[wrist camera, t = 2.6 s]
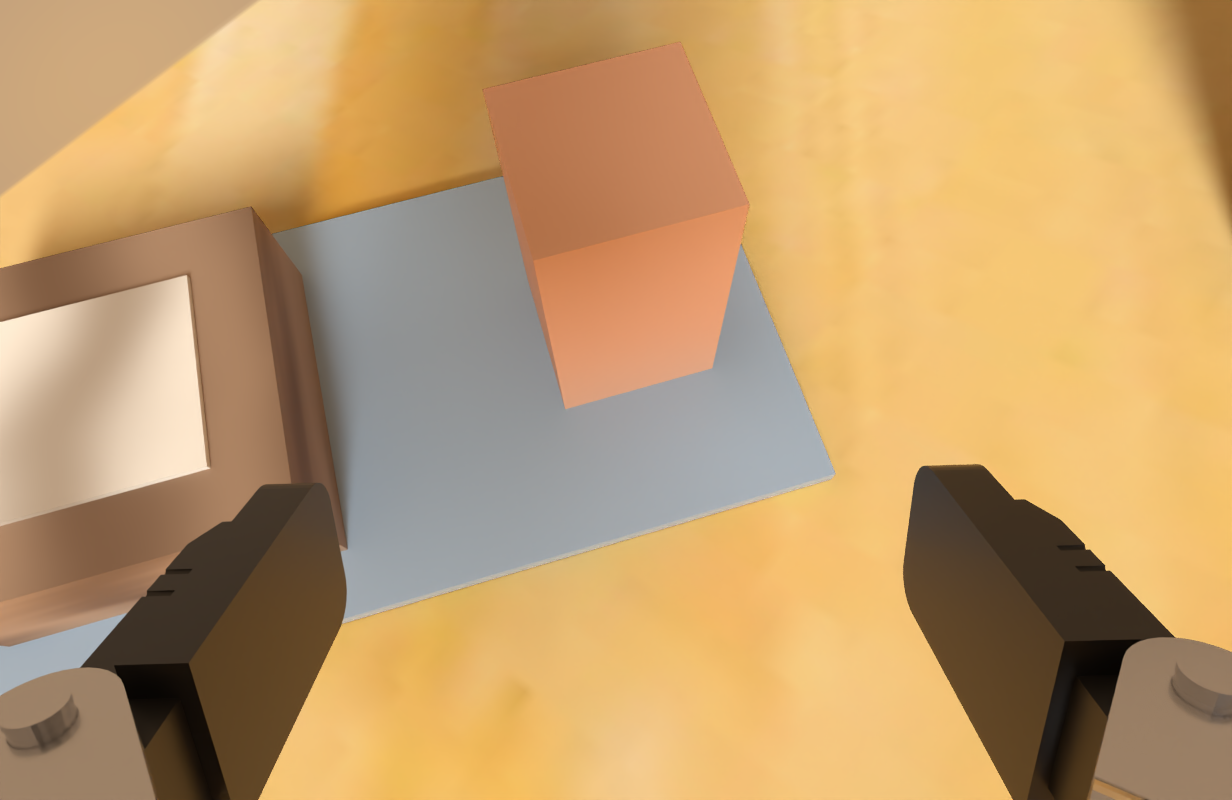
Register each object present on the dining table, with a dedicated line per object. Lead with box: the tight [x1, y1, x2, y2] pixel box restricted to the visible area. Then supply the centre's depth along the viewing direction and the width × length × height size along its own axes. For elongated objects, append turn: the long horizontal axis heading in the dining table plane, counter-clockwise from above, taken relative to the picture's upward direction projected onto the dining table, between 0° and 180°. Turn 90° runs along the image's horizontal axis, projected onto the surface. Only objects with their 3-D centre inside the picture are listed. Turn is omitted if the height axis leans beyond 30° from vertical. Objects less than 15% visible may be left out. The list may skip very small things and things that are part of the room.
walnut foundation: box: [0, 207, 348, 647], centre depth 24 cm, size 10×10×4 cm
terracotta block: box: [483, 42, 750, 409], centre depth 23 cm, size 5×5×9 cm
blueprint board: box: [0, 176, 836, 695], centre depth 27 cm, size 26×14×1 cm, turn 106°
